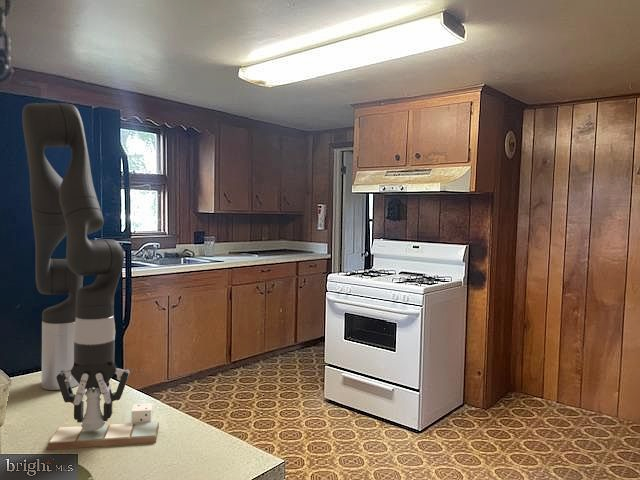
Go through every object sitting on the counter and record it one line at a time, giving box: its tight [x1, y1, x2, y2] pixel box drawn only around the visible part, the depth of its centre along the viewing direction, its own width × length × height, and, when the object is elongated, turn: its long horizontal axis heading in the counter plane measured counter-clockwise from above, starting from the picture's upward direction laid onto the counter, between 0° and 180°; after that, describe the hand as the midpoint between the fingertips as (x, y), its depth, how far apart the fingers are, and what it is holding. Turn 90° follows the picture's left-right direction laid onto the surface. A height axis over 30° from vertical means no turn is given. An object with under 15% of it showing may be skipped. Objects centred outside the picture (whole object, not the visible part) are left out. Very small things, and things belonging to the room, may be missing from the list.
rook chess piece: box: [81, 388, 106, 431], centre depth 100 cm, size 4×4×8 cm
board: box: [47, 421, 160, 450], centre depth 101 cm, size 7×20×1 cm, turn 103°
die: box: [130, 402, 154, 424], centre depth 108 cm, size 4×4×4 cm
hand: (93, 419), depth 101 cm, fingers closed on rook chess piece, 4 cm apart
